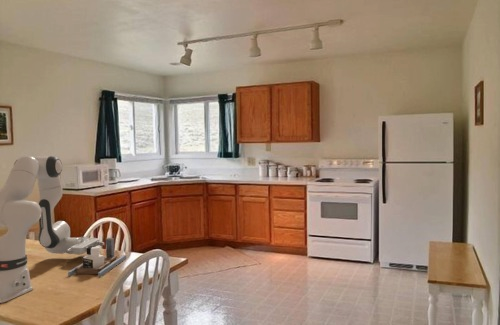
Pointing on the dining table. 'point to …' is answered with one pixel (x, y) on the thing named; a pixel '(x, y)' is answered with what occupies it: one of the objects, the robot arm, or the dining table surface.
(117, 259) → the guide rails
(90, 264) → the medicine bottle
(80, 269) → the brown tray fixture
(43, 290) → the dining table surface
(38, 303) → the dining table surface
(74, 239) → the robot arm
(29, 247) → the dining table surface
